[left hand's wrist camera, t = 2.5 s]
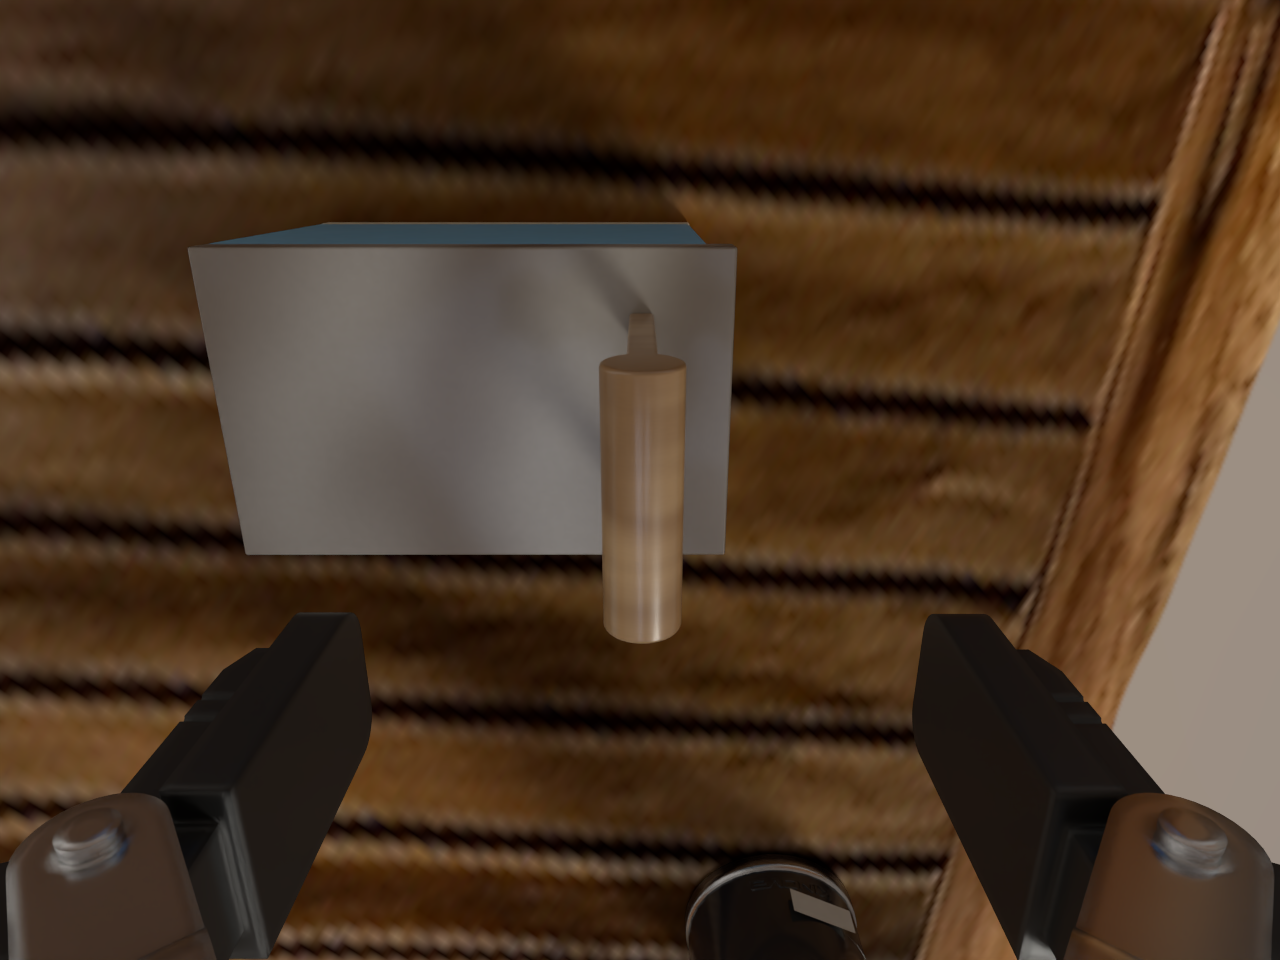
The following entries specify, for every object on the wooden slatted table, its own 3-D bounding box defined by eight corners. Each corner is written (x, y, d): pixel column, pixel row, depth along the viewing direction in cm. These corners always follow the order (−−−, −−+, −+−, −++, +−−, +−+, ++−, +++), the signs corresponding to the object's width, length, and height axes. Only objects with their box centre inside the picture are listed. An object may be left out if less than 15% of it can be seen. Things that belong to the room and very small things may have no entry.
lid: (733, 243, 23) (785, 284, 15) (721, 541, 27) (758, 708, 18) (204, 243, 23) (-35, 284, 15) (259, 541, 27) (89, 708, 18)
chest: (687, 222, 33) (707, 243, 23) (683, 444, 36) (699, 540, 27) (329, 222, 33) (205, 243, 23) (358, 444, 36) (259, 541, 27)
